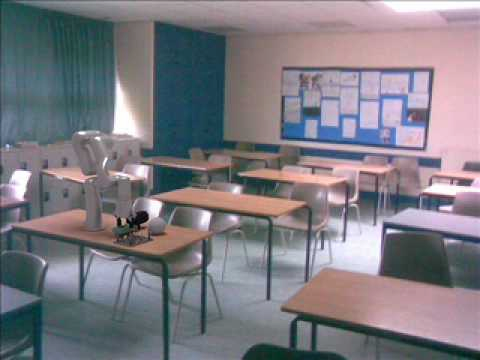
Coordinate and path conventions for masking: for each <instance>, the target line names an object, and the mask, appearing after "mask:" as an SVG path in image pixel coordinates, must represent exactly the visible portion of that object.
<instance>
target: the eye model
mask: <svg viewBox="0 0 480 360" xmlns="http://www.w3.org/2000/svg"><path fill="white" fill-rule="evenodd" d="M166 223H167V222H166V220H164V218H162V217H158V216H155V217H152V218H151V219H150V221H149V223H148V228H150V233H152V234H154V235H161V234H163V233H164V231H165V230H166V227H167V224H166Z"/></svg>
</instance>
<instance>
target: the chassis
mask: <svg viewBox="0 0 480 360" xmlns="http://www.w3.org/2000/svg"><path fill="white" fill-rule="evenodd" d="M134 233H135V235H134V234H133V235H132V233H130V236H124V237H123V238H119V231H117V237H116V240H114V241H113V244H115V245H118V246H123V247H127V248H132V247H136V246H137V247H138V246H139V245H143V244H145V243H149V242H152V241H154V238H152V237H151V231H150V228H149V227H148V229H147V236H144V233H143V232H141V233H140V235H139V232H138V230H137V225H136V226H135V230H134Z"/></svg>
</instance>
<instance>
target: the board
mask: <svg viewBox="0 0 480 360" xmlns="http://www.w3.org/2000/svg"><path fill="white" fill-rule="evenodd" d="M135 226H136V225H134V228H131V229H130V228H129V224H128V223H126V222H125V223H124V224H122V225H120V226H117V225H116V226H114V227H112V228H111V229H112V233H115V234H116V233H117V231H119V233H120V234H123V233H126V232H130V231H133V232H134V231H135Z"/></svg>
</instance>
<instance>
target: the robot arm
mask: <svg viewBox="0 0 480 360" xmlns="http://www.w3.org/2000/svg"><path fill="white" fill-rule="evenodd" d="M70 141H71V142H70V143H71V147H72V149H73V151H74V153H75V155H76V158H77V160H78V164H79V168H80V170H81V173H82V175H83V176H85V177H88V178H86V179H85V180H84V181H83V190H84V195H85V219H84V221H83V222H82V224H83V225H85V226H83V230H85V231H86V232H99V231H103V230H105V229H106V226H105V225H103V199H102V196H101V195H100V193H103V192H107V191H109V190H112V189H113V190H114V189H117V192H116V193H117V195H116V197H117V200H116V204H115V210H114V211H113V215H114V217H115V220H116V227H117V226H120V225H123V223H122V219H126V218H128V219H129V221H130V222H129V228H130V229H131V228H134V221H135V219H136V216H137V214H136V212H134V206H133V200H132V189H131V188H132V185H131V183H132V182H131V177H129V176H128V175H126V176H124V175H120V174H115V175H111V174H110V172H109V169H108V165H107V164H109V163H110V162H111V161H112V155H111V153H110V150H111V149H112V148H113V147H114V140H113V138H112V137H111V136H110V135H108V134H106V133H104V132H102V131H99V130H97V129H93V130H92V129H89V130H78V131H76V132H74V133H72V136H71V140H70ZM86 145H87V146H88V145H89V146H90V148H91V151H92V153H93V154H94V157H95V159H94V158H93V155H92V153H91V151H90V149H89V148H88V147H87V146H86Z"/></svg>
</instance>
